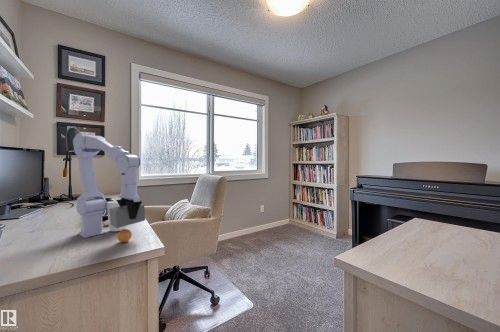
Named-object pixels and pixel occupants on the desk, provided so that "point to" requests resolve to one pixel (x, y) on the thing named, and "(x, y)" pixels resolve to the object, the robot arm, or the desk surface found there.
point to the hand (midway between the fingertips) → (129, 217)
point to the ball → (124, 235)
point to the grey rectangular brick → (125, 216)
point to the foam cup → (109, 205)
